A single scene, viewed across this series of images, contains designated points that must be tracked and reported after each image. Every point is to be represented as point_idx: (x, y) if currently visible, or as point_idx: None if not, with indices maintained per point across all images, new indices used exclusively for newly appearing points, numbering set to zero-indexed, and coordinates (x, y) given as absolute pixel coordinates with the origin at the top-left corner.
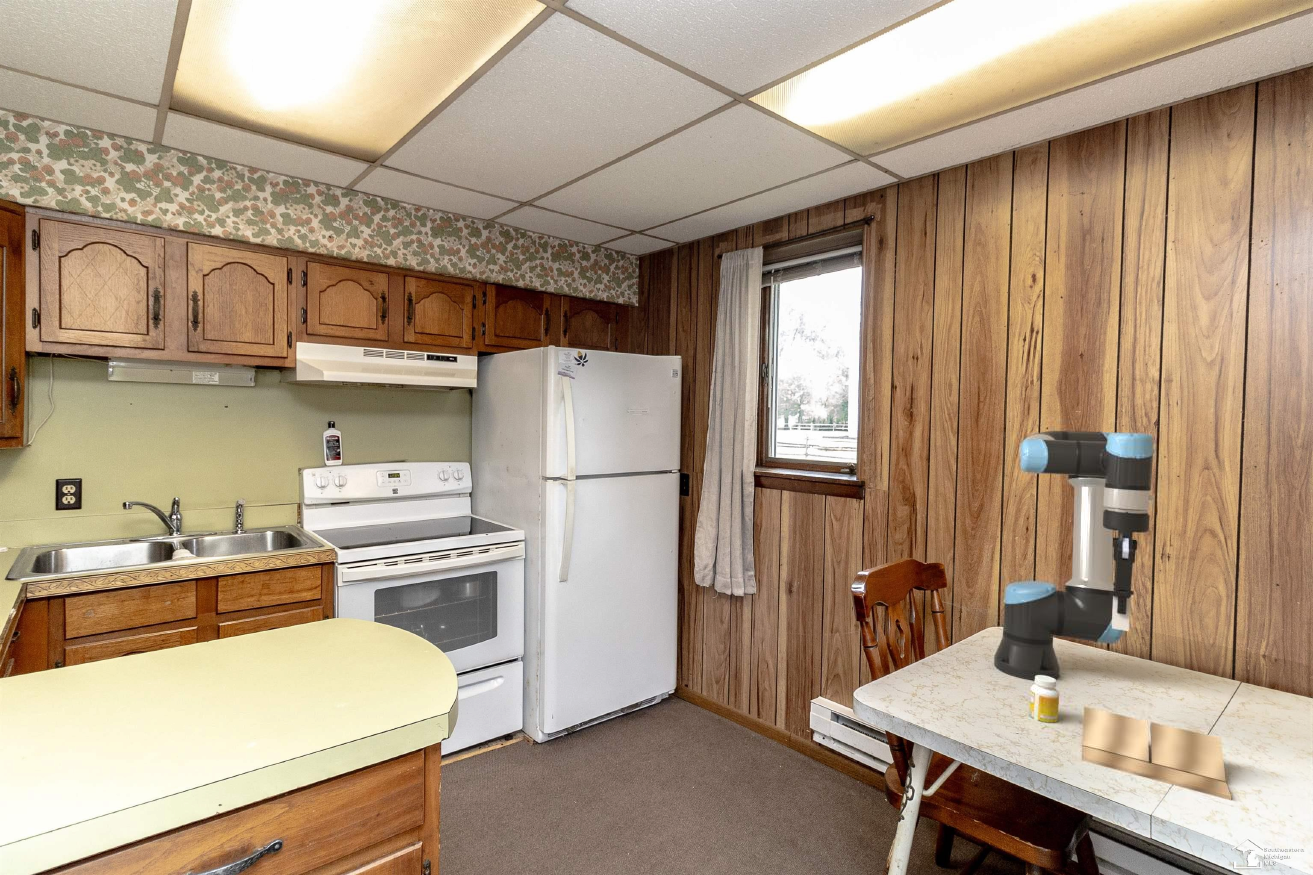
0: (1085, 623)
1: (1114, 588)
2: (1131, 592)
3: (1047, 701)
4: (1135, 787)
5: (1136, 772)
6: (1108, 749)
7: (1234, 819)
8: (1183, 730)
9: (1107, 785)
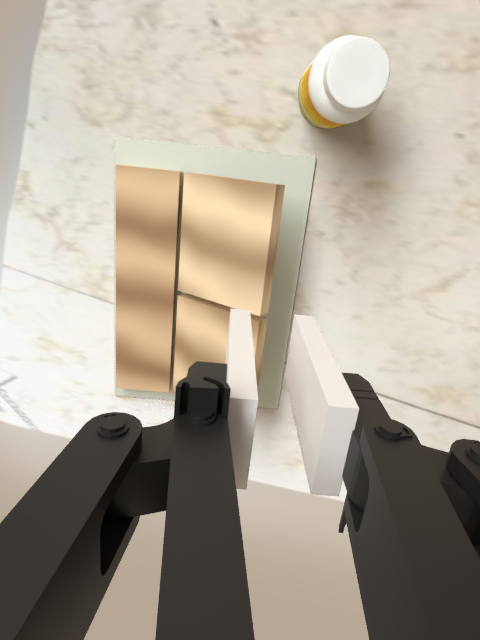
0: None
1: (384, 435)
2: (340, 520)
3: (306, 90)
4: (85, 253)
5: (116, 261)
6: (185, 223)
7: (71, 374)
8: None
9: (57, 205)
